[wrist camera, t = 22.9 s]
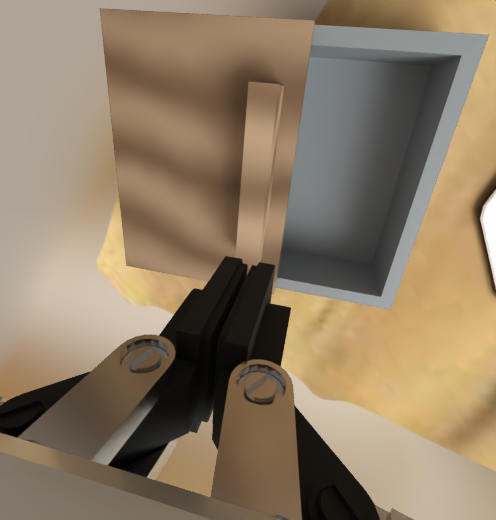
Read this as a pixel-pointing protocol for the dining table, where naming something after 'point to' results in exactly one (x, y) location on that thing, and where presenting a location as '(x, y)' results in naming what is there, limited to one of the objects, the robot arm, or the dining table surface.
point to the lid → (204, 134)
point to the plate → (490, 230)
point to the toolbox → (370, 155)
